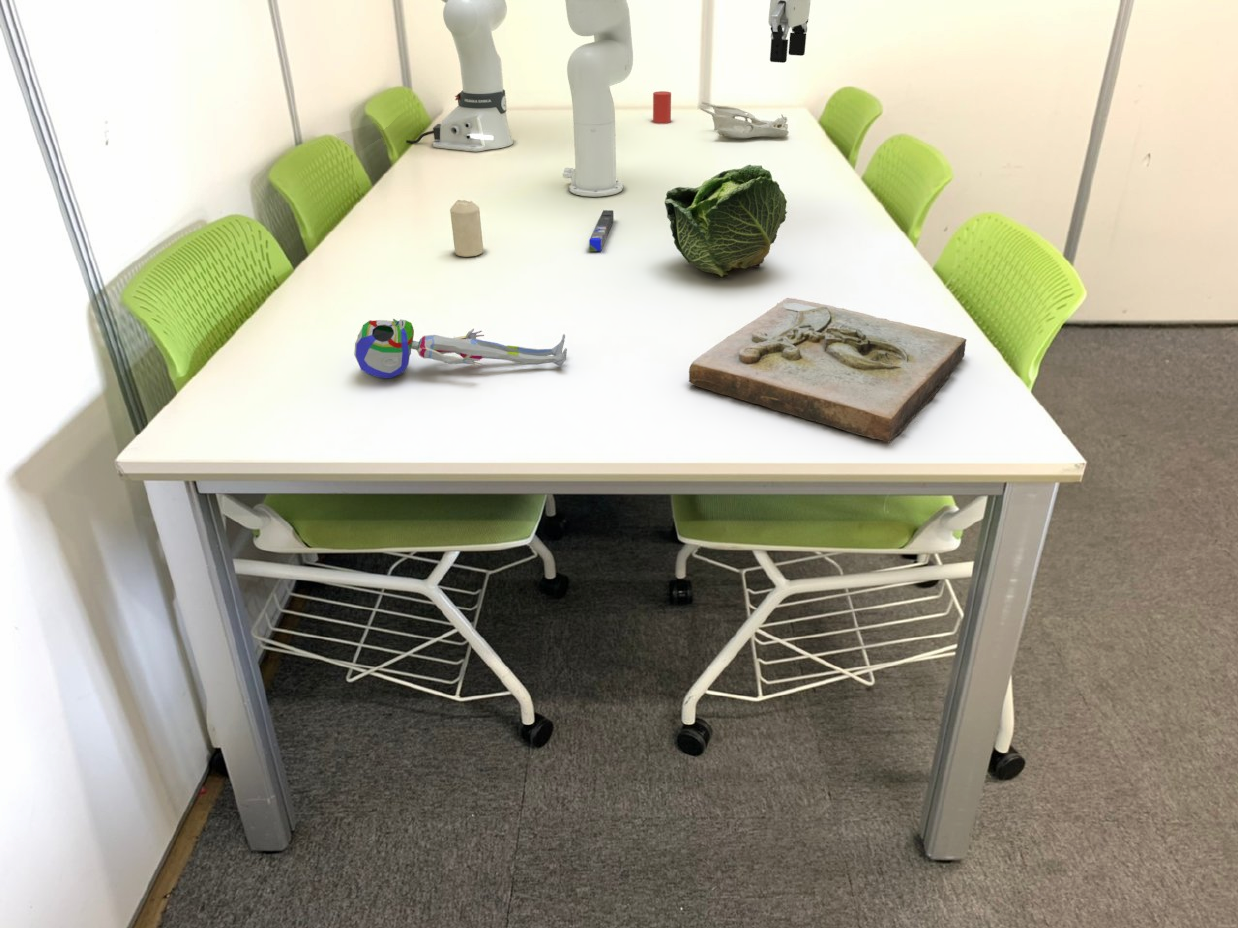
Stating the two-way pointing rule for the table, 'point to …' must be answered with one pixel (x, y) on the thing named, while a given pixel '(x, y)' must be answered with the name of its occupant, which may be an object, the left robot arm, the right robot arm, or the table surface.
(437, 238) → the table surface
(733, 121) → the anatomical model
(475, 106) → the left robot arm
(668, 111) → the canister
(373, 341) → the toy
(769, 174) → the vegetable
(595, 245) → the pillar
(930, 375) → the plaque
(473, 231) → the candle
